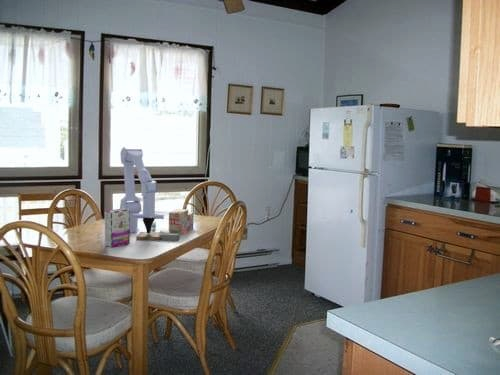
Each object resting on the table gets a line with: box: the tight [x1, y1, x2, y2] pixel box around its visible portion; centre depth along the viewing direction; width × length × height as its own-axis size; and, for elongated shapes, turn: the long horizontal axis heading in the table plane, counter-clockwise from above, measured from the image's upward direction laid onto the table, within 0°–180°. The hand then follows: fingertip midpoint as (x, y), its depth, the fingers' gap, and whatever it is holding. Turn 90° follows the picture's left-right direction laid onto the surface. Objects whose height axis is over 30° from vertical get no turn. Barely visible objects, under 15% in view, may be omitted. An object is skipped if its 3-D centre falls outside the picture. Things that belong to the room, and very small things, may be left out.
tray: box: [161, 231, 181, 242], centre depth 236 cm, size 8×10×3 cm
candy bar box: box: [104, 208, 131, 248], centre depth 219 cm, size 11×5×16 cm, turn 148°
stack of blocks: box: [168, 208, 195, 237], centre depth 253 cm, size 21×6×12 cm, turn 168°
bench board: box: [135, 231, 162, 242], centre depth 235 cm, size 12×11×2 cm
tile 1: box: [159, 228, 170, 236], centre depth 236 cm, size 4×4×2 cm
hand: (148, 233), depth 235 cm, fingers closed
